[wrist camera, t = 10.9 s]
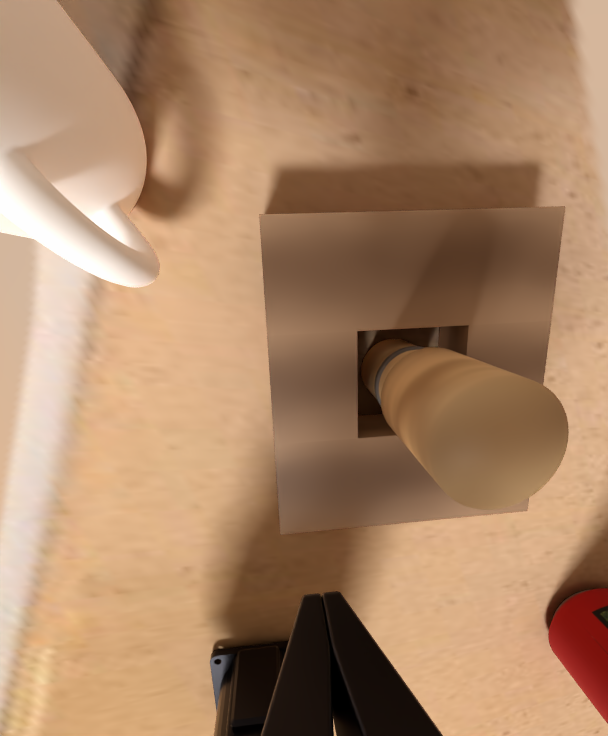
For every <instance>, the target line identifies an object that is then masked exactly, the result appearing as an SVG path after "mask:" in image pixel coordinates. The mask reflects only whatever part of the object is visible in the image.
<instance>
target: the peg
mask: <svg viewBox="0 0 608 736" xmlns="http://www.w3.org/2000/svg"><path fill="white" fill-rule="evenodd" d="M361 375H362V380H363V383H364V384H365V386H366V388H367V389H368V390H369V391H370V392H371V393H372V395H373V396H374V397H375V398H376V399H377V401H378V403H379V404H380V406H381V408H382V413H383V415H384V418H385V420H386V422H387V423H388V425H389V426H390V427H391V429H392V430H393V431H394V432H395V433H396V435H397V436H398V437H399V438H400V439H401V441H402V442H403V443H404V444H405V445H406V447H407V448H408V449H409V450H410V451H411V453H412V454H413V455H414V456H415V457H416V459H417V460H418V461H419V462H420V463H421V465H422V466H423V467H424V468H425V469H426V471H427V472H428V473H429V474H430V475H431V477H432V478H433V479H434V480H435V481H436V483H437V484H438V485H439V486H440V487H441V489H442V490H443V491H444V492H445V493H446V494H447V495H448V496H449V497H450V498H452V499H453V500H454V501H456V502H458V503H460V504H462V505H464V506H467V507H470V508H474V509H481V510H495V509H501V508H505V507H509V506H512V505H515V504H517V503H520V502H522V501H524V500H525V499H527V498H529V497H530V496H532V495H533V494H535V493H536V492H537V491H539V490H540V489H541V488H542V487H543V486H544V485H545V484H546V483H547V482H548V481H549V480H550V479H551V477H552V476H553V475H554V473H555V472H556V470H557V469H558V467H559V465H560V463H561V461H562V459H563V457H564V454H565V451H566V447H567V442H568V433H569V432H568V421H567V416H566V413H565V411H564V408H563V406H562V404H561V402H560V401H559V399H558V398H557V397H556V396H555V394H554V393H552V392H551V391H550V390H549V389H548V388H546V387H545V386H543V385H542V384H540V383H538V382H536V381H533V380H530V379H528V378H525V377H522V376H520V375H517V374H514V373H511V372H509V371H506V370H503V369H501V368H498V367H495V366H492V365H490V364H487V363H484V362H482V361H479V360H476V359H474V358H471V357H468V356H465V355H463V354H460V353H457V352H455V351H452V350H449V349H445V348H440V347H428V348H425V347H421V346H416V345H413V344H411V343H409V342H406V341H404V340H401V339H387V340H384V341H381V342H379V343H377V344H376V345H374V346H373V347H372V348H371V349H370V350H369V351H368V352H367V354H366V355H365V357H364V360H363V363H362V367H361Z"/></svg>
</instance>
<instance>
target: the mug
mask: <svg viewBox="0 0 608 736" xmlns="http://www.w3.org/2000/svg"><path fill="white" fill-rule="evenodd" d="M146 167H147V155H146V145H145V139H144V135H143V131H142V128H141V125H140V122H139V119H138V117H137V115H136V112H135V110H134V108H133V106H132V104H131V102H130V100H129V98H128V97H127V95H126V93H125V92H124V90H123V88H122V87H121V85H120V84H119V83H118V81H117V80H116V78H115V77H114V76H113V74H112V73H111V71H110V70H109V69H108V67H107V66H106V65H105V63H104V62H103V61H102V59H101V58H100V57H99V55H98V54H97V53H96V51H95V50H94V49H93V48H92V46H91V45H90V44H89V42H88V41H87V40H86V38H85V37H84V36H83V34H82V33H81V32H80V30H79V29H78V28H77V26H76V25H75V24H74V22H73V21H72V20H71V18H70V17H69V16H68V15H67V13H66V12H65V11H64V9H63V8H62V7H61V5H60V4H59V3H58V1H57V0H0V232H2V233H7V234H12V235H17V236H22V237H28V238H33V239H35V240H37V241H38V242H40V243H41V244H42V245H44V246H45V247H47V248H48V249H50V250H51V251H53V252H54V253H56V254H58V255H59V256H61V257H62V258H64V259H66V260H67V261H69V262H71V263H72V264H74V265H76V266H78V267H80V268H81V269H83V270H85V271H87V272H89V273H91V274H93V275H95V276H97V277H100V278H102V279H104V280H107V281H110V282H112V283H116V284H120V285H124V286H128V287H143V286H147V285H149V284H151V283H153V282H154V281H155V280H156V278H157V276H158V275H159V270H160V264H159V260H158V257H157V255H156V253H155V251H154V249H153V248H152V246H151V245H150V244H149V242H148V241H147V240H146V238H145V237H144V236H143V235H142V233H141V232H140V231H139V230H138V228H137V227H136V226H135V225H134V224H133V222H132V221H131V220H130V219H129V218H128V217H127V216H128V215H129V214H130V212H131V211H132V209H133V208H134V206H135V204H136V202H137V200H138V199H139V197H140V194H141V191H142V188H143V186H144V181H145V176H146Z"/></svg>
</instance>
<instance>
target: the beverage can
mask: <svg viewBox="0 0 608 736" xmlns="http://www.w3.org/2000/svg"><path fill="white" fill-rule="evenodd" d="M549 643H550V646H551V648H552V650H553V652H554V653H555V655H556V656H557V657H558V659H559V660H560V661H561V663H562V664H563V665H564V667H565V668H566V669H567V671H568V672H569V673H570V675H571V676H572V677H573V678H574V680H575V681H576V682H577V684H578V685H579V686H580V688H581V689H582V690H583V692H584V693H585V694H586V696H587V697H588V698H589V700H590V701H591V702H592V704H593V705H594V706H595V708H596V709H597V710H598V712H599V713H600V714H601V715H602V717H603V718H604V719H605V721H606V722H607V723H608V588H599V589H592V590H585V591H581V592H578V593H575V594H573V595H572V596H570V597H568V598H567V599H566V600H564V601H563V602H562V603H561V604H560V606H559V607H558V608H557V610H556V611H555V614H554V616H553V619H552V622H551V625H550V628H549Z"/></svg>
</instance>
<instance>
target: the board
mask: <svg viewBox="0 0 608 736" xmlns="http://www.w3.org/2000/svg"><path fill="white" fill-rule="evenodd" d="M564 213H565V206H560V207H522V208H484V209H446V210H408V211H371V212H333V213H295V214H259V218H260V233H261V248H262V263H263V279H264V294H265V309H266V324H267V340H268V355H269V370H270V385H271V401H272V416H273V431H274V446H275V462H276V477H277V492H278V507H279V523H280V535H284V534H294V533H304V532H315V531H325V530H335V529H346V528H356V527H367V526H377V525H387V524H398V523H408V522H418V521H429V520H439V519H450V518H460V517H470V516H481V515H491V514H501V513H512V512H522V511H527V510H528V502H529V498H527V499H525V500H524V501H522V502H520V503H517V504H515V505H512V506H509V507H505V508H501V509H495V510H481V509H474V508H470V507H467V506H464V505H462V504H460V503H458V502H456V501H454V500H453V499H452V498H450V497H449V496H448V495H447V494H446V493H445V492H444V491H443V490H442V489H441V487H440V486H439V485H438V484H437V483H436V481H435V480H434V479H433V478H432V477H431V475H430V474H429V473H428V472H427V471H426V469H425V468H424V467H423V466H422V465H421V463H420V462H419V461H418V460H417V459H416V457H415V456H414V455H413V454H412V453H411V451H410V450H409V449H408V448H407V447H406V445H405V444H404V443H403V442H402V441H401V439H400V438H399V437H398V436H397V435H396V433H395V432H394V431H393V430H392V429H391V427H390V426H389V425H388V423H387V422H386V420H385V418H384V415H383V414H379V415H365V416H358V377H357V331H368V330H387V329H406V328H425V327H440V330H439V347H440V348H445V349H449V350H452V351H455V352H457V353H460V354H463V355H465V356H468V357H471V358H474V359H476V360H479V361H482V362H484V363H487V364H490V365H492V366H495V367H498V368H501V369H503V370H506V371H509V372H511V373H514V374H517V375H520V376H522V377H525V378H528V379H530V380H533V381H536V382H538V383H540V384H542V385H543V382H544V374H545V366H546V357H547V349H548V341H549V333H550V325H551V317H552V309H553V301H554V293H555V285H556V277H557V269H558V261H559V253H560V245H561V237H562V229H563V221H564Z"/></svg>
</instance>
